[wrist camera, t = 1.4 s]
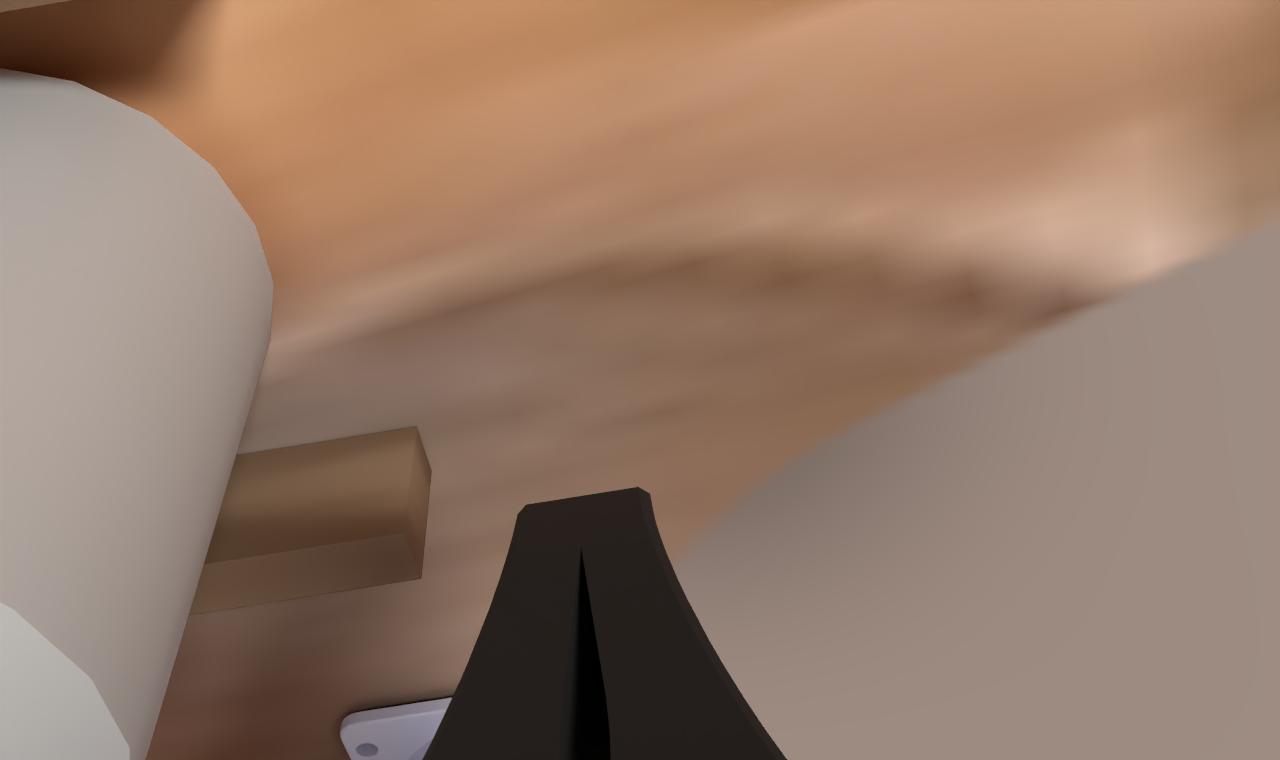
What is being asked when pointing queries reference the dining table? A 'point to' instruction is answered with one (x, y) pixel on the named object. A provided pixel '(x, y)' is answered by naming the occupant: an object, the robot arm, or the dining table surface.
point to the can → (111, 408)
